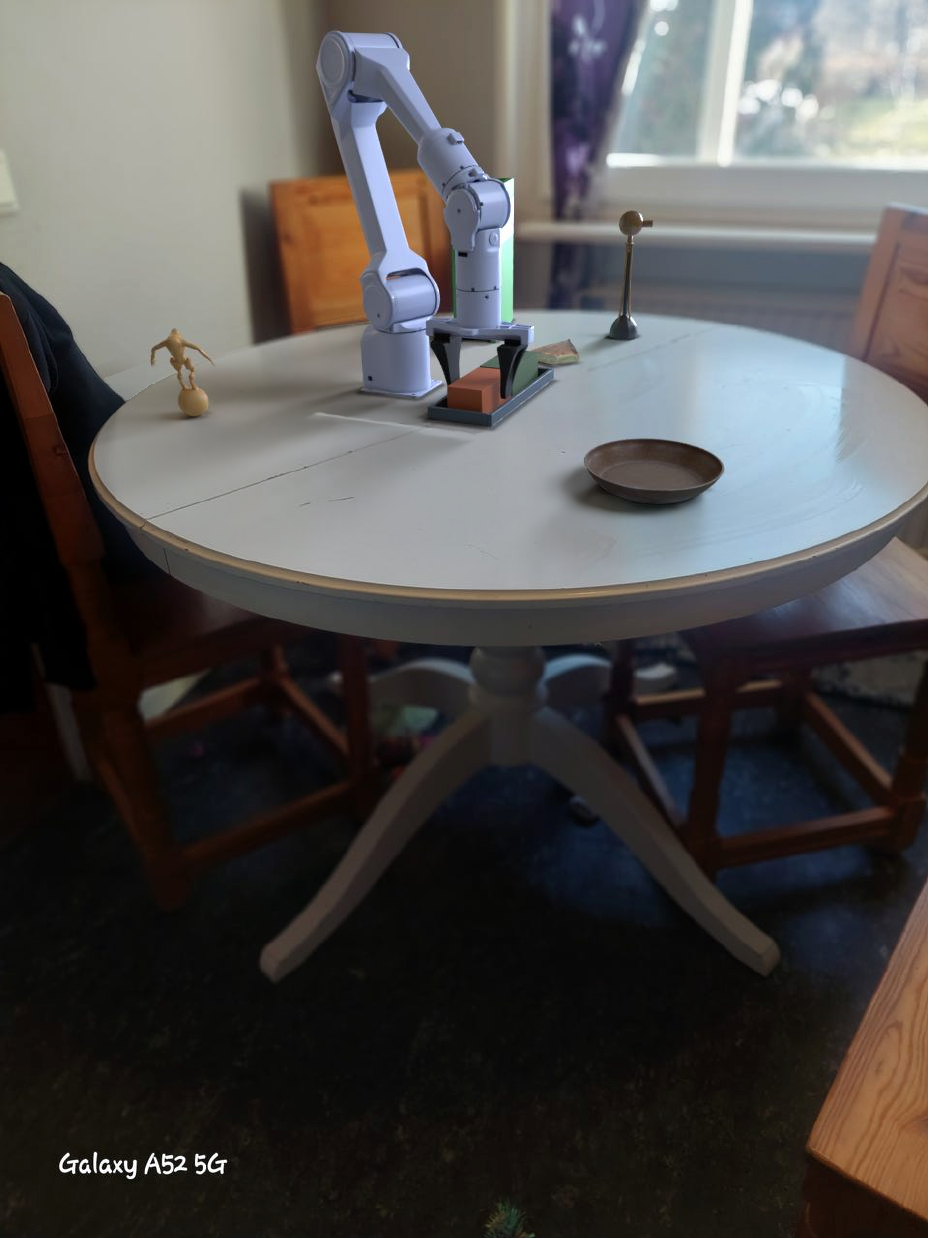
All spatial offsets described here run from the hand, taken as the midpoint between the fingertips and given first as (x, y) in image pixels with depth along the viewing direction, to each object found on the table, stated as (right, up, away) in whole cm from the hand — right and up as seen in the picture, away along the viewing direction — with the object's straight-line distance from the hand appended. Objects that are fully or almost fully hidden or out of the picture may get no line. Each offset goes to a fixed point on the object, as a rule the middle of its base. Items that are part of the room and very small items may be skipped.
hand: (479, 393), depth 117 cm
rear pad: (+4, +3, +9) cm, 11 cm away
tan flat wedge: (+12, +12, +24) cm, 29 cm away
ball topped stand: (+26, +19, +35) cm, 48 cm away
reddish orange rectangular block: (0, -2, +1) cm, 2 cm away
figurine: (-39, -3, +1) cm, 39 cm away
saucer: (+18, -16, -22) cm, 33 cm away
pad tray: (+2, 0, +5) cm, 6 cm away
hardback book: (+2, +22, +41) cm, 47 cm away
